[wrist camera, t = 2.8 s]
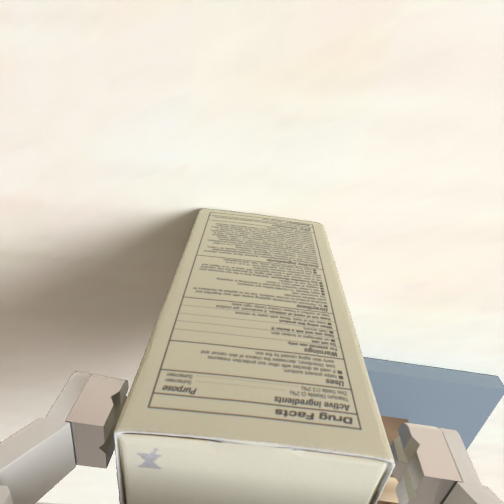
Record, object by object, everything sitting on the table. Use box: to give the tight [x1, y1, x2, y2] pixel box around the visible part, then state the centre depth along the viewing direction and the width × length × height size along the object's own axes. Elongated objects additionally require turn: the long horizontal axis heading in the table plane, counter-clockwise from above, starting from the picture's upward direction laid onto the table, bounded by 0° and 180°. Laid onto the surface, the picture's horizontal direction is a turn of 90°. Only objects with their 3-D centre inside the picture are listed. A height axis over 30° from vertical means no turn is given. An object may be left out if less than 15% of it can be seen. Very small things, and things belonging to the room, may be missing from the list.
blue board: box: [363, 357, 504, 450], centre depth 26 cm, size 18×14×1 cm
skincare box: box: [114, 209, 395, 504], centre depth 15 cm, size 6×4×12 cm
